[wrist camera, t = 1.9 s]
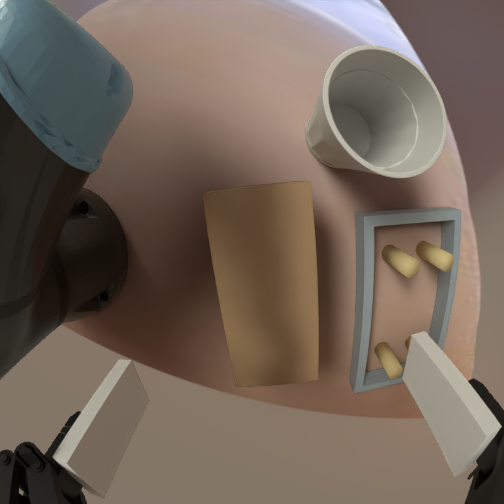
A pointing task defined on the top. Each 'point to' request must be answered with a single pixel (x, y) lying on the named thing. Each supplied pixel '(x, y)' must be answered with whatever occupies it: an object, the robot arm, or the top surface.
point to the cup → (377, 115)
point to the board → (266, 280)
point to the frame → (409, 268)
